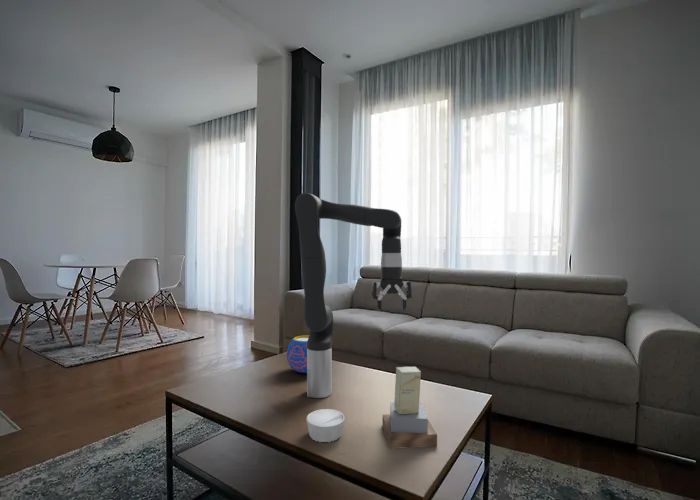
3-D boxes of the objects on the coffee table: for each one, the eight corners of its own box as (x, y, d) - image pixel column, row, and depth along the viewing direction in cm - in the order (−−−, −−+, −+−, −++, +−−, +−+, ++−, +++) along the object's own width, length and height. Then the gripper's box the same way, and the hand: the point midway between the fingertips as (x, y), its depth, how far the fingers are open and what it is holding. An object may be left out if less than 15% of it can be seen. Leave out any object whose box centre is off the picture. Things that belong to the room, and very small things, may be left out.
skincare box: (398, 414, 102) (400, 372, 102) (393, 407, 107) (395, 366, 106) (419, 413, 104) (421, 371, 103) (413, 405, 108) (415, 365, 107)
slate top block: (391, 431, 101) (391, 417, 101) (390, 415, 111) (390, 402, 111) (427, 433, 100) (427, 418, 100) (423, 416, 110) (423, 403, 110)
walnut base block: (390, 450, 99) (390, 436, 99) (382, 427, 112) (382, 414, 112) (437, 448, 100) (437, 434, 100) (424, 426, 113) (423, 413, 113)
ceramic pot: (333, 368, 167) (333, 335, 167) (313, 380, 150) (313, 344, 150) (300, 363, 174) (300, 332, 174) (278, 375, 158) (278, 340, 158)
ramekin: (340, 447, 100) (340, 427, 100) (301, 443, 101) (301, 424, 101) (347, 427, 111) (347, 410, 111) (312, 424, 112) (312, 407, 112)
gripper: (373, 266, 127) (374, 312, 127) (413, 265, 129) (413, 311, 129) (370, 265, 135) (370, 309, 135) (407, 265, 136) (407, 308, 136)
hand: (391, 310), depth 132 cm, fingers open, 8 cm apart
